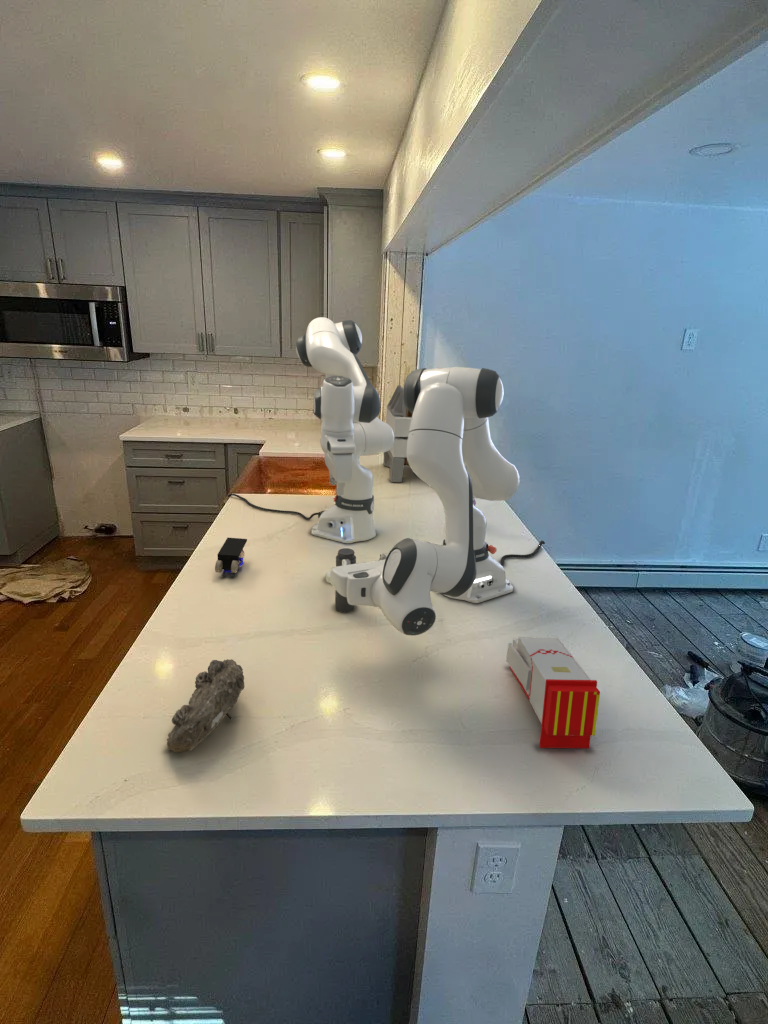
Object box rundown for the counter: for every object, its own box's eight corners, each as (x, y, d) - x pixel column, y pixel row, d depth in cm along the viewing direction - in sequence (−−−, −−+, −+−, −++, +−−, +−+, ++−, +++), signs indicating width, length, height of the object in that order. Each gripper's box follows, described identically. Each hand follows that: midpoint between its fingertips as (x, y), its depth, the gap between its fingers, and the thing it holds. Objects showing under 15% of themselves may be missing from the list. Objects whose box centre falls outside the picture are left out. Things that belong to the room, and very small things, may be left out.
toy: (554, 620, 129) (609, 687, 99) (549, 674, 131) (601, 755, 102) (501, 619, 128) (541, 686, 99) (497, 673, 131) (534, 754, 102)
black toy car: (238, 584, 162) (249, 557, 175) (236, 562, 158) (247, 536, 172) (215, 584, 161) (227, 556, 175) (212, 561, 158) (225, 535, 171)
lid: (338, 573, 168) (338, 568, 168) (348, 581, 164) (348, 575, 163) (322, 578, 165) (322, 572, 164) (332, 585, 161) (332, 579, 160)
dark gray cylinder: (333, 611, 147) (334, 554, 142) (336, 602, 152) (337, 546, 147) (353, 613, 147) (354, 556, 141) (355, 603, 152) (357, 548, 146)
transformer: (382, 463, 289) (386, 382, 275) (445, 464, 293) (451, 384, 279) (390, 482, 257) (394, 392, 243) (460, 483, 261) (468, 394, 247)
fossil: (192, 660, 117) (244, 628, 112) (224, 691, 120) (276, 661, 115) (142, 746, 98) (202, 712, 93) (182, 779, 101) (242, 748, 96)
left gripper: (319, 431, 159) (319, 478, 164) (332, 448, 141) (331, 501, 145) (341, 431, 161) (340, 478, 165) (357, 448, 142) (355, 500, 147)
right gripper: (431, 565, 124) (404, 541, 136) (342, 579, 116) (322, 552, 128) (429, 591, 126) (403, 565, 138) (342, 606, 118) (322, 577, 130)
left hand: (336, 489), depth 155 cm, fingers open, 8 cm apart
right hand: (364, 559), depth 133 cm, fingers open, 8 cm apart
